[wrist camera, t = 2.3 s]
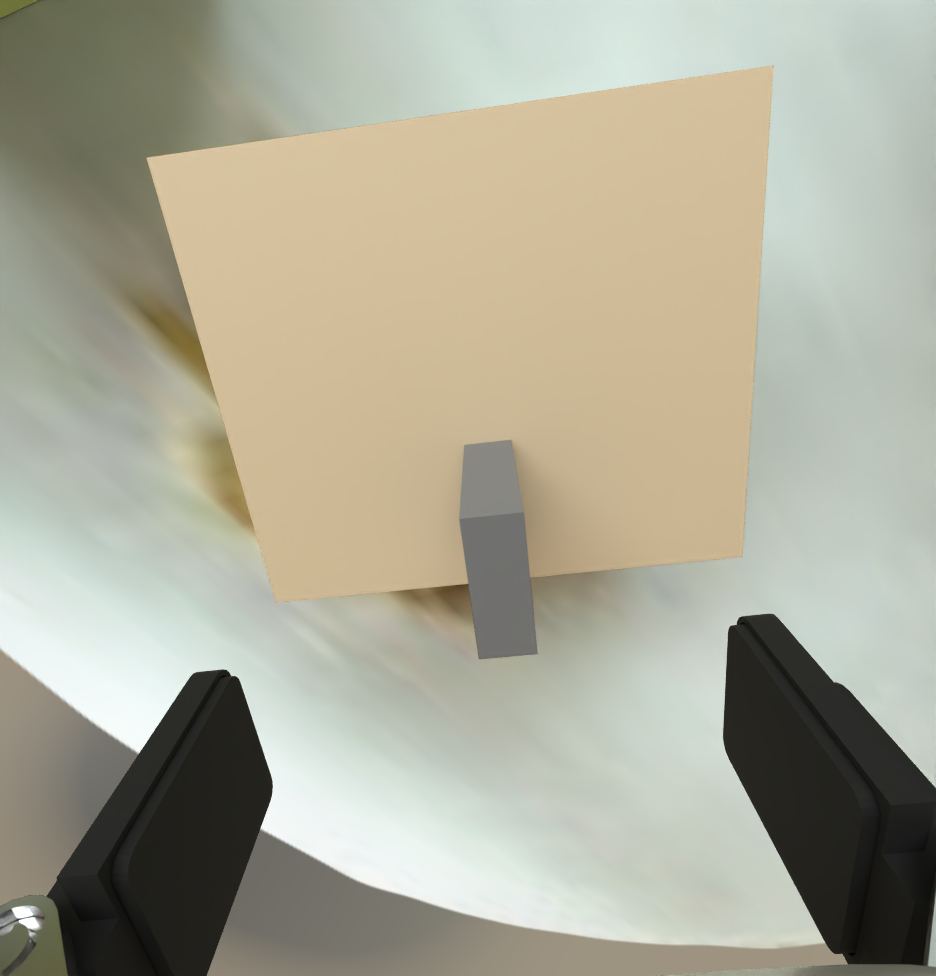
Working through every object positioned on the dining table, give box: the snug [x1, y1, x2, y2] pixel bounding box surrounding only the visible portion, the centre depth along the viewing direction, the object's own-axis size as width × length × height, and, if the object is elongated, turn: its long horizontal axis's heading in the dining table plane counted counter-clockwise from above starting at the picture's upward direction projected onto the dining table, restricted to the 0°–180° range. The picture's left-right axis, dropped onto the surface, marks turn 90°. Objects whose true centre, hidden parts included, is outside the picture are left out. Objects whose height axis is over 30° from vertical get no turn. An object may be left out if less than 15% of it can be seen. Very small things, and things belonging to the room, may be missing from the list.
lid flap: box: [147, 65, 774, 659], centre depth 15 cm, size 16×14×6 cm
